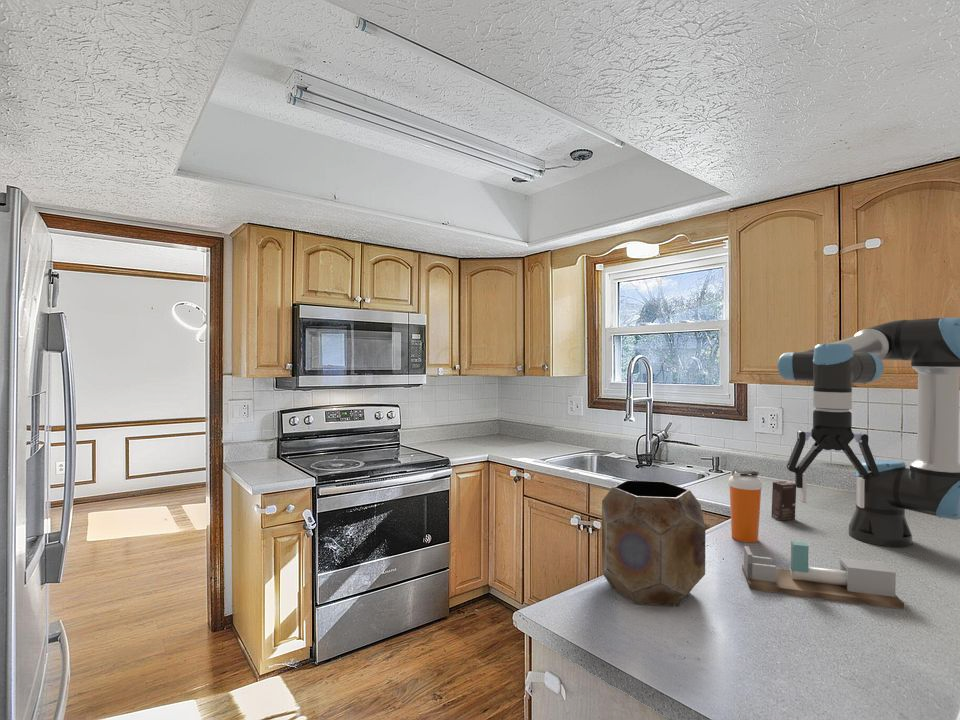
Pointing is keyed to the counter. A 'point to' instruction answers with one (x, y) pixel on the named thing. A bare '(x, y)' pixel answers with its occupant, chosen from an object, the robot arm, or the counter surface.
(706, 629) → the counter surface
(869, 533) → the robot arm
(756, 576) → the socket
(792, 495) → the box
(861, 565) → the sleeve
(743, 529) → the shaker bottle
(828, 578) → the bolt
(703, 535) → the planter
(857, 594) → the board
